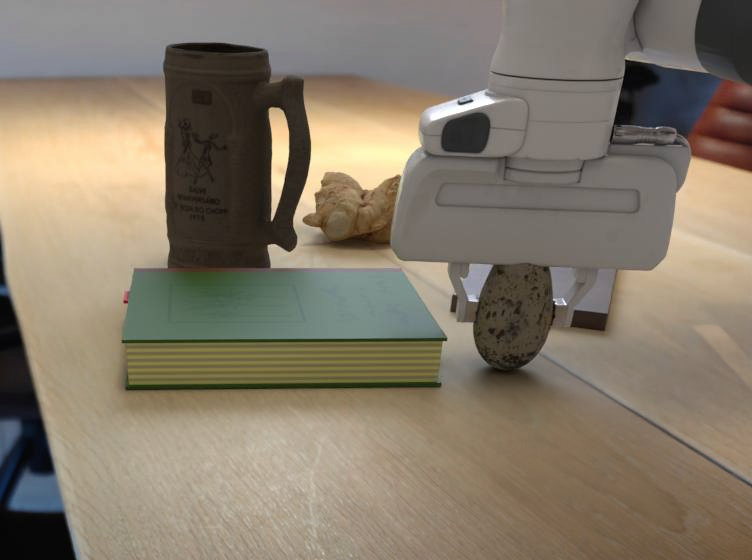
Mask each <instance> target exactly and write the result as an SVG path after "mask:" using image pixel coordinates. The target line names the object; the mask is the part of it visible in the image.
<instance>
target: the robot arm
mask: <svg viewBox="0 0 752 560" xmlns="http://www.w3.org/2000/svg"><path fill="white" fill-rule="evenodd" d="M500 1H501V2H500V3H501V8H502V9H501V11H502V13H501V14H502V21H501V31H500V37H499V39H498V43H497V46H496V48H495V52H494V53H493V56H492V59H491V62H490V68H489V74H488V79H487V80H488V81H487V88H485V89H484V90H483V89H482V90H480V91H477V92H473V93H471V94H468V95H465V96H461V97H458V98H455V99H451V100H448V101H445V102H442V103H438V104H435V105H433V106H430V107H427V108H426V109H424V110H423V112H422V114H421V115H420V118H419V121H418V129H417V136H418V141H419V144H420V145H421V146H419V147H418V148H416V149H415V150H414V151H413V152H412V153H411V154H410V156H409V157H408V159H407V161H406V162H405V165H404V167H403V169H402V174H401V176H402V177H401V180H400V184H399V188H398V192H397V197H396V202H395V207H394V213H393V219H392V226H391V235H390V242H389V244H390V248H391V250H392V252H393V253H394V255H395V257H396V258H397V259H398V260H399V261H403V262H421V263H441V264H442V263H443V264H445V263H446V264H447V269H446V270H447V271H446V272H447V273H448V277H449V281H450V283H451V285H452V288H453V290H454V292H456V295H457V297H458V300H457V307H456V311H455V322H456V323H461V324H464V323H467V324H468V323H469V324H473V323H476V319H477V315H476V312H477V311H478V306H479V300H478V297H477V295H472V294H467V293H466V291H465V288H464V286H463V283H462V279H463V278H467V277H468V273H469V269H470V267H471V265H473V264H491V265H515V264H520V263H531V264H534V265H538V266H541V267H564V268H573V271H572V274H573V276H574V277H575V279H576V281H575V282H574V283H573V285H572V286H571V287H570V289H569V290H568V291H567V292H566V294H565V295H564V296H563V298H553V314H552V322H551V327H554V328H555V327H556V328H570V327H571V326H570V325H571V322H572V317H573V313H574V308H575V305H578V303H579V302H580V301H581V300H582V299H583V298H584V296H585V295H586V294H587V293H588V292H589V290H590V289H591V288H592V287H593V286H594V285H595V282H596V278H597V273H598V269H613V270H616V271H637V272H638V271H641V272H642V271H643V272H650V271H653V270H655V268H657V266H659V265H660V264H661V263H662V262H663V261H664V260H665V258H666V257H667V255H668V251H669V246H670V242H671V237H672V231H673V225H674V218H675V213H676V212H675V211H676V201H677V193H678V192H679V191H680V190H681V189H682V187H683V186H684V184H685V181H686V179H687V175H688V171H689V168H690V165H691V160H692V148H691V144H690V143H689V141H688V139H686V138H685V136H684V135H682V134H679V133H678V132H677V129H676V128H675V127H671V126H656V127H646V126H638V125H631V124H630V125H628V124H614V123H615V118H616V113H617V108H618V104H619V99H620V96H621V90H622V86H623V81H624V76H625V71H626V60H627V61H633V62H639V63H646V64H654V65H656V66H659V67H662V68H669V69H675V70H676V69H677V70H684V71H691V72H698V73H707V74H710V75H712V76H715V77H717V78H720V79H724V80H728V81H732V82H735V83H738V84H742V85H745V86H749V87H752V0H500ZM675 142H677V143H679V144H674V143H675Z"/></svg>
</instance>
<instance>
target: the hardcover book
mask: <svg viewBox="0 0 752 560" xmlns="http://www.w3.org/2000/svg"><path fill="white" fill-rule="evenodd" d="M129 289H130V290H125V291H124V295H123V299H122V301H123V304H125V305H126V304H127V308H126V312H125V318H124V323H123V330H122V337H121V344H125V351H126V364H127V365H126V366H127V374H126V379H125V390H183V389H184V390H186V389H187V390H188V389H193V390H194V389H202V390H203V389H285V388H287V389H288V388H290V389H293V388H294V389H295V388H296V389H298V388H302V389H303V388H305V389H306V388H388V387H389V388H394V387H395V388H397V387H399V388H400V387H406V388H407V387H442V381H441V380H440V378H439V373H440V368H441V367H440V365H441V360H442V359H441V357H442V351H443V344H444V342H448V336H447V334H445V331H443V329H442V327H441V326H440V324H439V323H438V321H437V319H436V318H435V317H434V316H433V313H432V312H431V311H430V310H429V308H428V306H427V305H426V303H425V302H424V300H423V298H422V297H421V296H420V294H419V293H418V291H417V290H416V288H415V286H414V285H413V283H412V282H411V281H410V279H409V278H408V276H407V275H406V273H405V271H404V270H403V269H402V267H270V268H168V267H134V268H133V272H132V277H131V284H130V288H129Z"/></svg>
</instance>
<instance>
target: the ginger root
mask: <svg viewBox="0 0 752 560" xmlns="http://www.w3.org/2000/svg"><path fill="white" fill-rule="evenodd" d="M401 177H402V174H395V176H392V177H388V178H386V179H383V181H382V182H381V183H380V184H379V185H378V186H377V187H375V188H373V189H363V187H362V186H361V185H360V183H359V182H358V181H357V180H356V179H355V178H354V177H352V176H351V175H349V174H347V173H344V172H340V171H325V173H324V175H323V178H322V179H321V180H320V184H321V185H320V186H321V187H320V189H319V190H318V191H315V192H314V193H313V195H314V201H315V212H311V213H308V214H306V215H304V216H303V217H302V219H301V222H302V223H303V224H305V225H306V226H308V227H310V228H311V227H312V228H320V230H321V232H322V233H323V234H324V235H325V236H326V237H327V238H328V239H329V240H331V241H332V242H338V241H343V240H346V239H349V238H354V239H356V240H361V241H371V242H374V243H375V244H380V243H381V244H390V235H391V226H392V219H393V213H394V207H395V202H396V197H397V192H398V188H399V184H400V180H401Z"/></svg>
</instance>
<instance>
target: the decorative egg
mask: <svg viewBox="0 0 752 560" xmlns="http://www.w3.org/2000/svg"><path fill="white" fill-rule="evenodd" d="M478 300H479V306H478V311H477V312H476V315H477V319H476V323H472V324H473V325H472V335H473V340H474V344H475V348H476V350H477V352H478V354H479V356H480V357H481V358H482V359H483V361H484V362H485V363H487V364H488V365H489V366H491V367H493V368H495V369H497V370H502V371H513V370H517V369H520V368H522V367H524V366H526V365H527V364H529V363H530V362H532V361H533V360H534V359H535V358H536V357H537V355H539V353H540V352H541V350H542V349H543V347H544V346H545V344H546V341H547V339H548V336H549V334H550V330H551V327H552V326H551V322H552V314H553V289H552V280H551V273H550V268H549V267H541V266H538V265H534V264H531V263H520V264H515V265H493V267H492V268H491V270H490V272H489V274H488V276H487V278H486V281H485V283H484V285H483V288H482V290H481V293H480V296H479V299H478Z"/></svg>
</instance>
